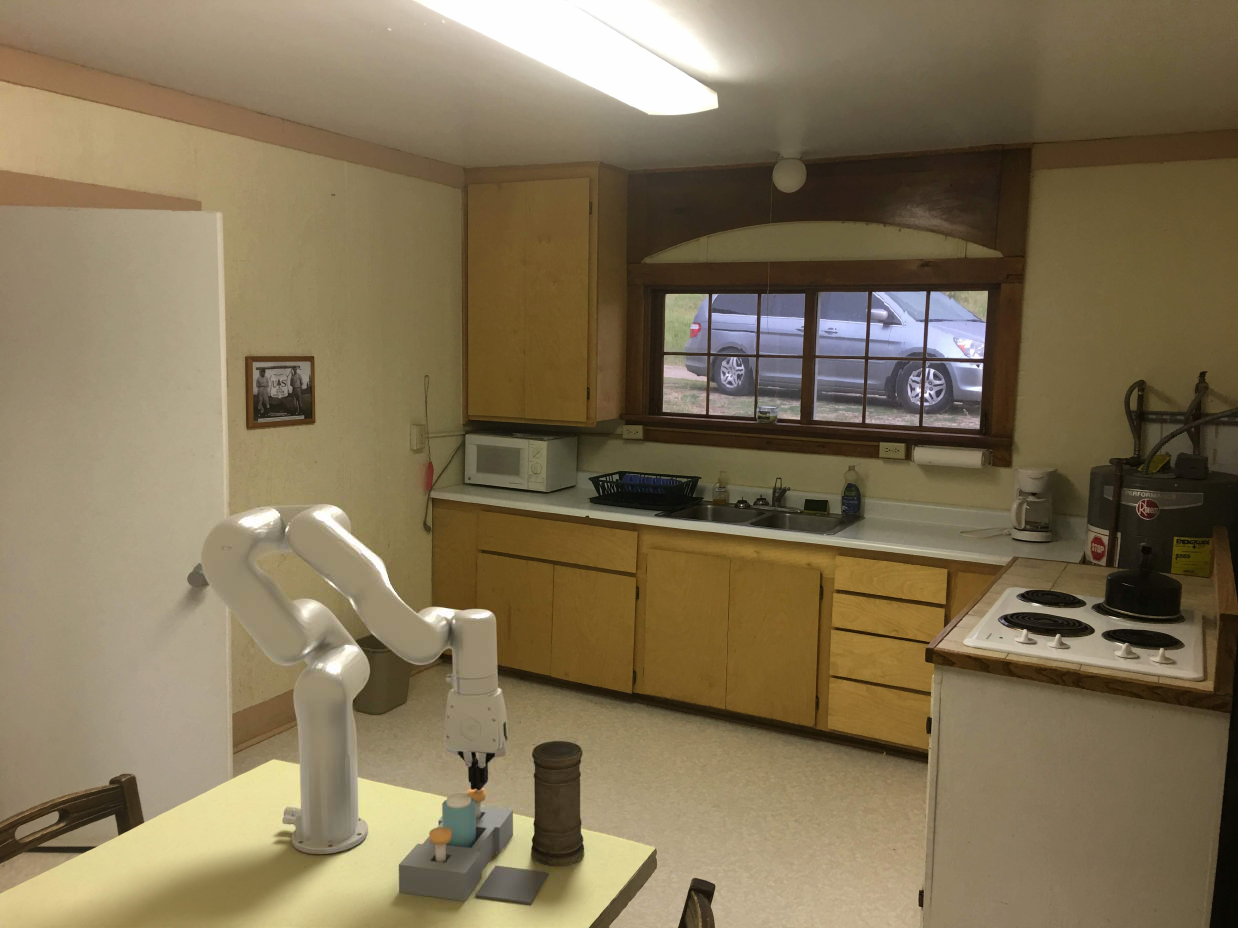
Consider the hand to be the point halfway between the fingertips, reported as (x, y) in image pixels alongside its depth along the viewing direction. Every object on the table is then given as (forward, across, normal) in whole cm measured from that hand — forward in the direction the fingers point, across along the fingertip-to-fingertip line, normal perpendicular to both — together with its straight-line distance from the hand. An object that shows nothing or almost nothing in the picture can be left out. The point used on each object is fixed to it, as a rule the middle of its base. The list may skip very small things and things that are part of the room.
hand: (478, 786), depth 161 cm
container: (+10, +14, -1) cm, 18 cm away
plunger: (+7, -1, -15) cm, 17 cm away
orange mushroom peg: (+7, -1, 0) cm, 7 cm away
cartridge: (+10, -1, -8) cm, 12 cm away
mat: (+10, +10, -13) cm, 19 cm away
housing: (+10, -1, -8) cm, 12 cm away
